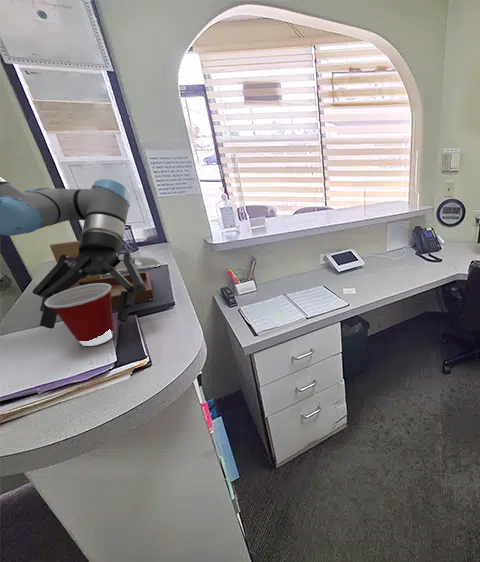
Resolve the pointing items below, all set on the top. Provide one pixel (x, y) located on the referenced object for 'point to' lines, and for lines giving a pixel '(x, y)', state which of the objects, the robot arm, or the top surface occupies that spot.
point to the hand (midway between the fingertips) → (85, 323)
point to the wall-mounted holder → (145, 263)
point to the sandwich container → (70, 251)
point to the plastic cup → (84, 310)
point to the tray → (118, 287)
